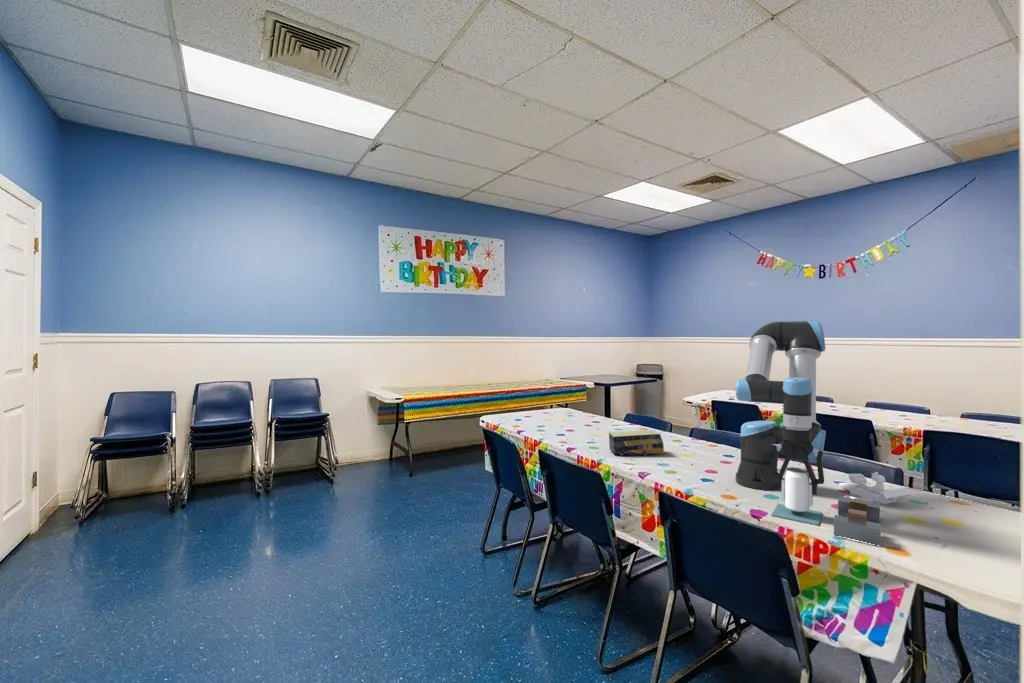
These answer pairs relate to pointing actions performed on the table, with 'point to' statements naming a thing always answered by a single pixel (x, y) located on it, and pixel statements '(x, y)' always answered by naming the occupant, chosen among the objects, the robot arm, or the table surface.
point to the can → (797, 489)
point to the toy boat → (874, 489)
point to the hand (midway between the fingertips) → (797, 502)
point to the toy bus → (636, 442)
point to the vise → (858, 519)
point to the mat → (797, 515)
